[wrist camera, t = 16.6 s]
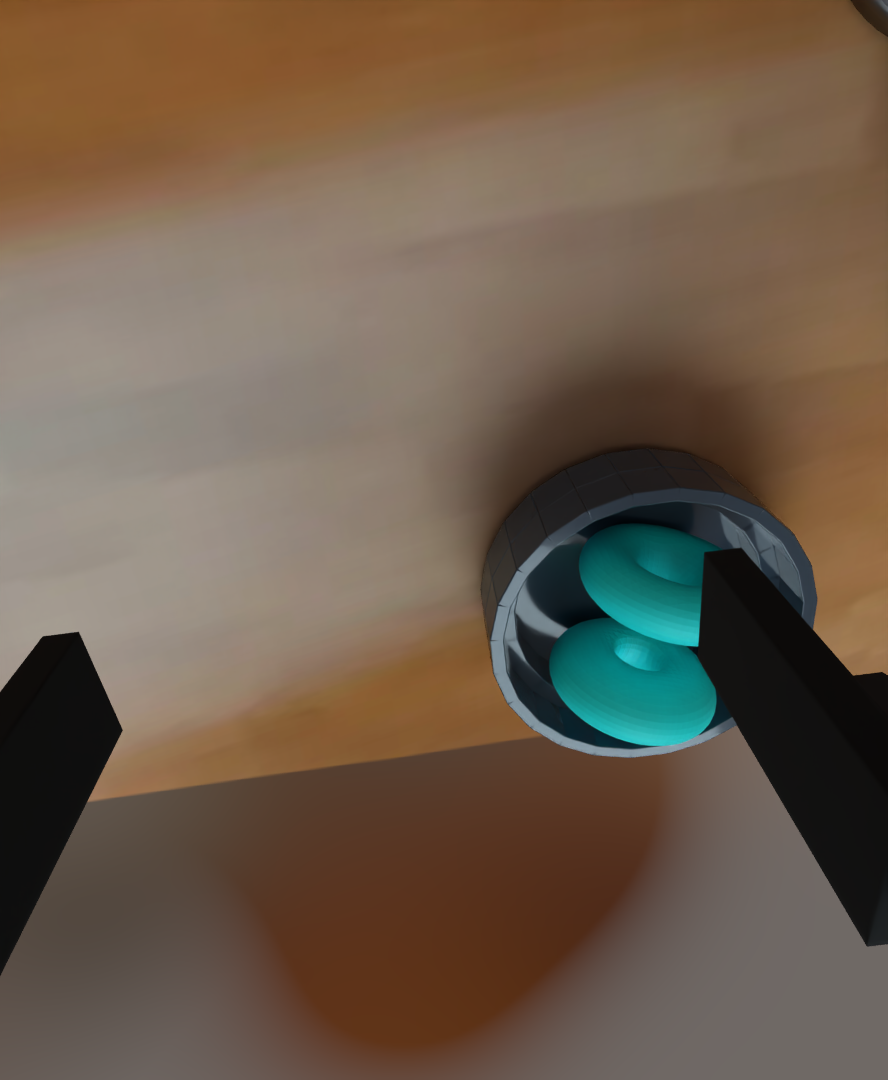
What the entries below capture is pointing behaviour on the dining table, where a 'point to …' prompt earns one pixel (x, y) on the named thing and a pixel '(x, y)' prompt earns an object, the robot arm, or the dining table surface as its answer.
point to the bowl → (559, 594)
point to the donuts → (638, 638)
